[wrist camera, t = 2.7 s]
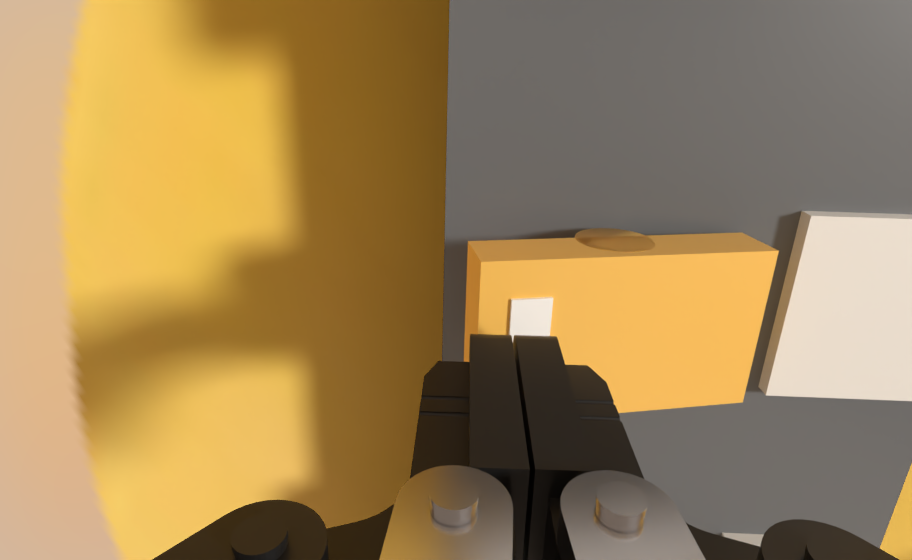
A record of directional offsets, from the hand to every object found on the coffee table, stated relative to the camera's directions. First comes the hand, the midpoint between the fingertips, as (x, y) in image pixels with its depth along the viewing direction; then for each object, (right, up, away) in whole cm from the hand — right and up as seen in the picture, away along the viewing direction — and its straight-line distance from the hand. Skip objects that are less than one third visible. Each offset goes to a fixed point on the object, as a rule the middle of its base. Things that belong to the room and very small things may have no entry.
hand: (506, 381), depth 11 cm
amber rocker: (+2, +1, +2) cm, 3 cm away
